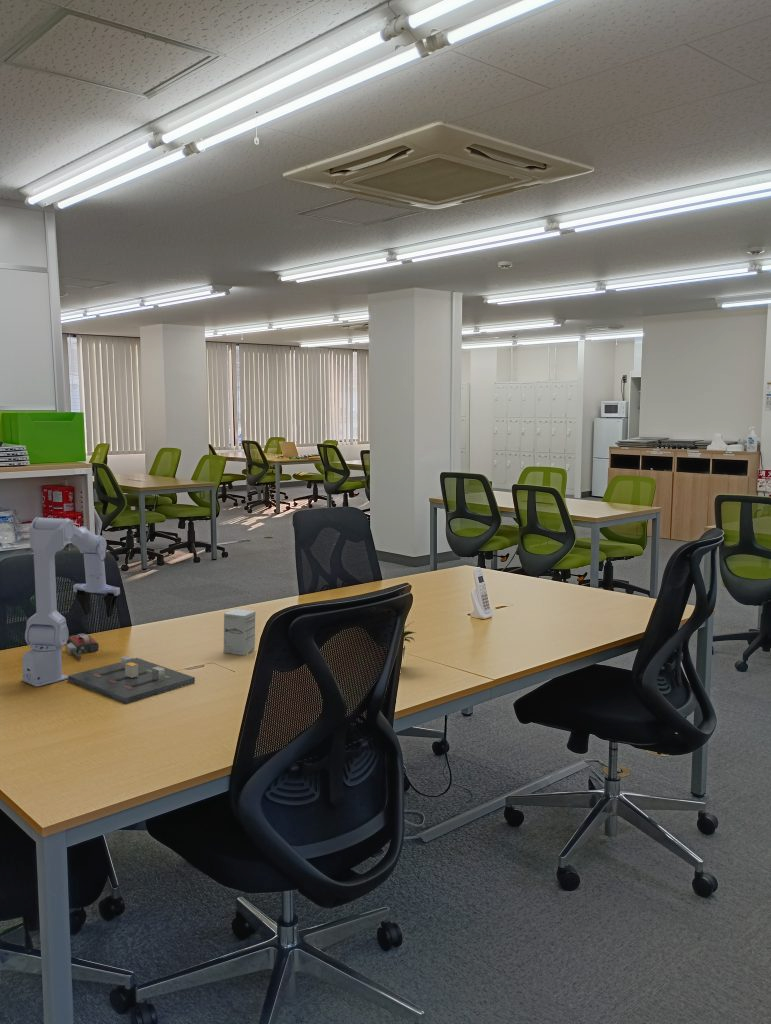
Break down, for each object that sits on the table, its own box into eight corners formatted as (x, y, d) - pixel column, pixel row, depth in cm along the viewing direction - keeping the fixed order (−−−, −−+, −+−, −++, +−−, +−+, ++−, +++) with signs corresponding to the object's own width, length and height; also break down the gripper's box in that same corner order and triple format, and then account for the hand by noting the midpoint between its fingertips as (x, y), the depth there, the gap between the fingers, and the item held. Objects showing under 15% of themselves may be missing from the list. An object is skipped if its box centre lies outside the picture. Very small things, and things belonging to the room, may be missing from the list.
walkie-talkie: (59, 645, 258) (76, 662, 242) (59, 631, 258) (75, 648, 241) (88, 641, 263) (106, 658, 247) (88, 628, 263) (106, 644, 246)
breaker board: (125, 703, 209) (125, 686, 209) (68, 680, 225) (67, 664, 224) (194, 682, 226) (194, 666, 226) (137, 662, 242) (136, 647, 242)
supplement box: (222, 653, 254) (223, 613, 252) (234, 647, 261) (234, 607, 259) (244, 656, 252) (244, 615, 250) (255, 649, 259) (256, 610, 257)
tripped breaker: (131, 677, 224) (131, 666, 223) (125, 675, 226) (125, 663, 225) (138, 676, 225) (138, 664, 225) (131, 673, 227) (131, 662, 227)
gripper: (123, 570, 254) (126, 611, 258) (80, 566, 257) (84, 607, 260) (111, 578, 247) (115, 620, 251) (67, 574, 250) (71, 616, 254)
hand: (98, 614), depth 255 cm, fingers open, 7 cm apart
